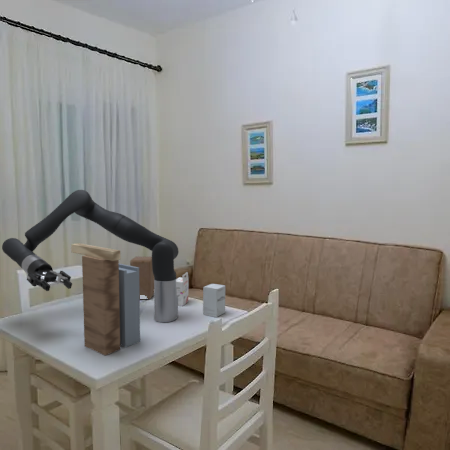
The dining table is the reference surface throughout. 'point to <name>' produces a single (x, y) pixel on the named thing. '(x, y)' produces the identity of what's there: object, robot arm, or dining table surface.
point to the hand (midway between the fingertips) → (60, 287)
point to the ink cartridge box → (182, 289)
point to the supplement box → (214, 300)
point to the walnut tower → (101, 304)
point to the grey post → (129, 305)
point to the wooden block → (144, 275)
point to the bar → (96, 251)
